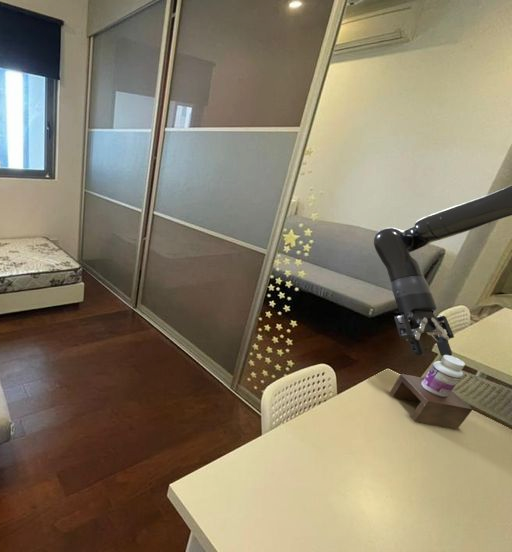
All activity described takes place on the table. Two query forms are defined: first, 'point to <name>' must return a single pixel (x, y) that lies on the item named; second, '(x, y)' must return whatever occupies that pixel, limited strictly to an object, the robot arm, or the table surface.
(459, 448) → the table surface
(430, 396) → the shelf
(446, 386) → the pill bottle
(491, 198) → the robot arm
